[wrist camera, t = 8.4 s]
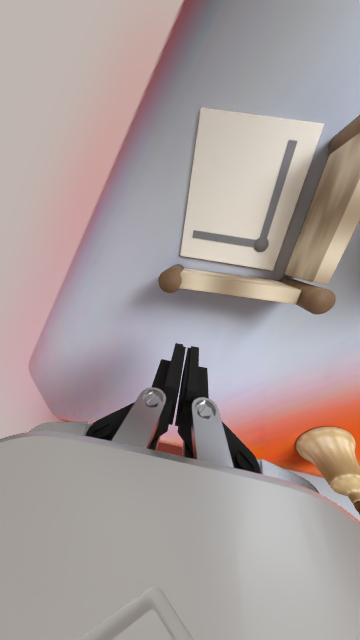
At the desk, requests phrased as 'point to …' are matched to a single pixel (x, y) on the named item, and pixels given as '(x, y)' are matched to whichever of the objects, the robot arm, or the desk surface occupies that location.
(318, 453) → the hand bell
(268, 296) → the fence panel
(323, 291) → the fence fixed
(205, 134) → the card
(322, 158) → the desk surface
